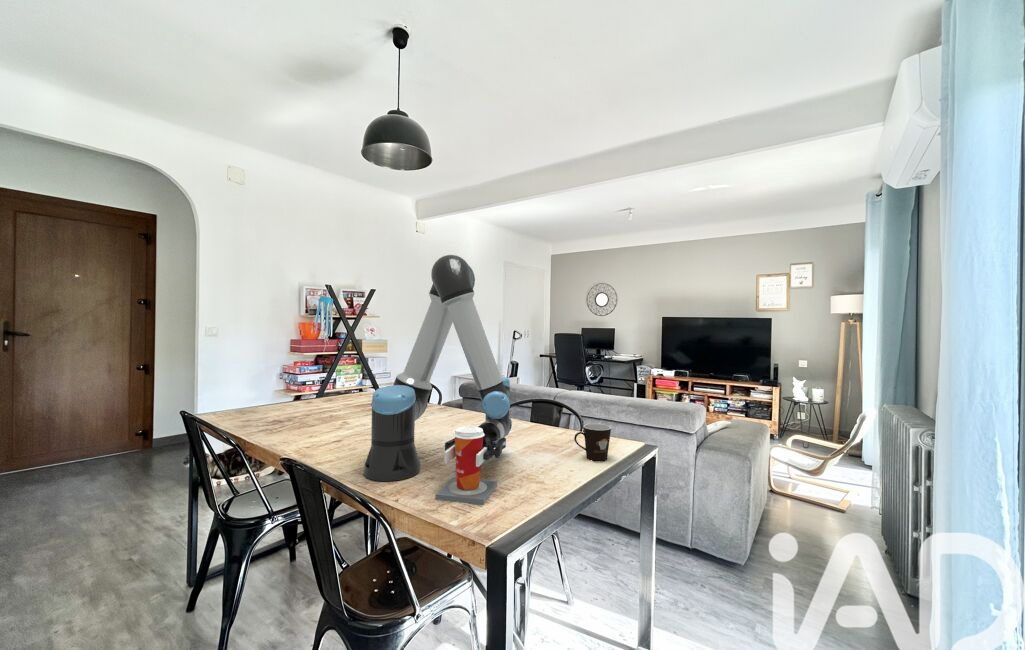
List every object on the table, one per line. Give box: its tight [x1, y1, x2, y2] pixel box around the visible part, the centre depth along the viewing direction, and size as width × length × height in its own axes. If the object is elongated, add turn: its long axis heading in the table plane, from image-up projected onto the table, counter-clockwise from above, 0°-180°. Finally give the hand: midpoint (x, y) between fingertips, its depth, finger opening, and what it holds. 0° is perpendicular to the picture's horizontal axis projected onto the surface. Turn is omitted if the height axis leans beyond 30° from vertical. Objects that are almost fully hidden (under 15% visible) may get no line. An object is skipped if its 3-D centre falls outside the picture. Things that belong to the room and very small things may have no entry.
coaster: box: [434, 476, 498, 506], centre depth 103 cm, size 12×12×1 cm
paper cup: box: [453, 426, 485, 490], centre depth 103 cm, size 8×8×14 cm
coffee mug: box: [573, 423, 612, 462], centre depth 132 cm, size 12×9×10 cm
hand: (461, 459), depth 99 cm, fingers open, 7 cm apart
